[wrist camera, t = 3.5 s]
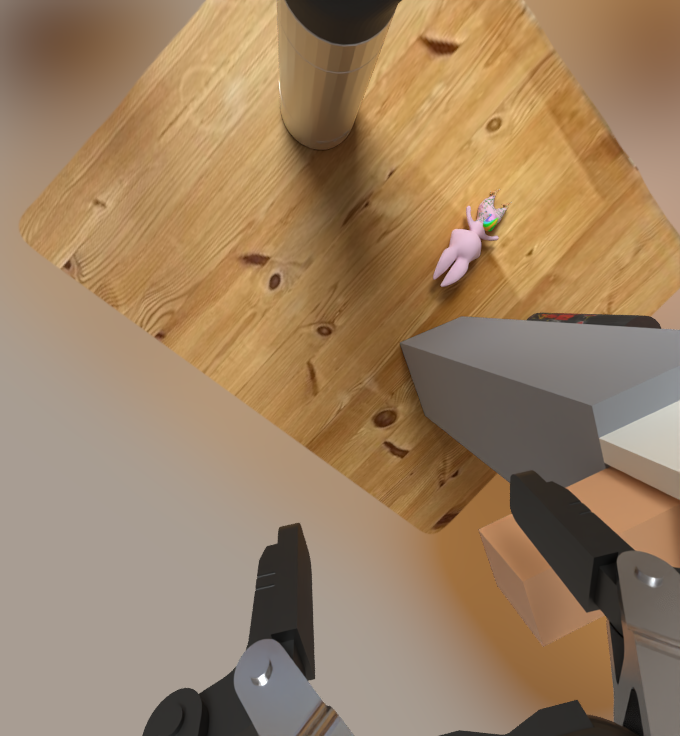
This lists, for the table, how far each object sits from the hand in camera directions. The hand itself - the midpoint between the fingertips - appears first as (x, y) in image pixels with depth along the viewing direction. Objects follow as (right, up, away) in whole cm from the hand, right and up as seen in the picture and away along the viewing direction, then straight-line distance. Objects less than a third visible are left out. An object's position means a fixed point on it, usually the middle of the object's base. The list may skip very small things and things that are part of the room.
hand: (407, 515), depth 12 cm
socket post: (+13, +6, +37) cm, 40 cm away
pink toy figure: (+15, +23, +35) cm, 44 cm away
